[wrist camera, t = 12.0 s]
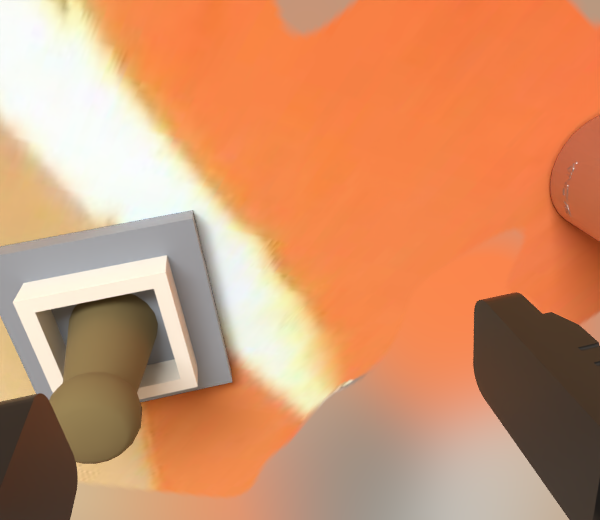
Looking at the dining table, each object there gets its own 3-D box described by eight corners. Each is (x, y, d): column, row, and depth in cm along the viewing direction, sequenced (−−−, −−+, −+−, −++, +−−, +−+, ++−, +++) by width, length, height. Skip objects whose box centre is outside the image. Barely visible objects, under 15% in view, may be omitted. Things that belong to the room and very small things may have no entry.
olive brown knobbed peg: (130, 374, 41) (111, 494, 32) (52, 339, 39) (6, 458, 29) (174, 315, 40) (168, 422, 30) (96, 275, 37) (62, 378, 28)
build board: (192, 210, 38) (192, 233, 35) (231, 370, 45) (234, 403, 41) (-18, 250, 37) (-40, 278, 33) (53, 408, 43) (41, 446, 40)
